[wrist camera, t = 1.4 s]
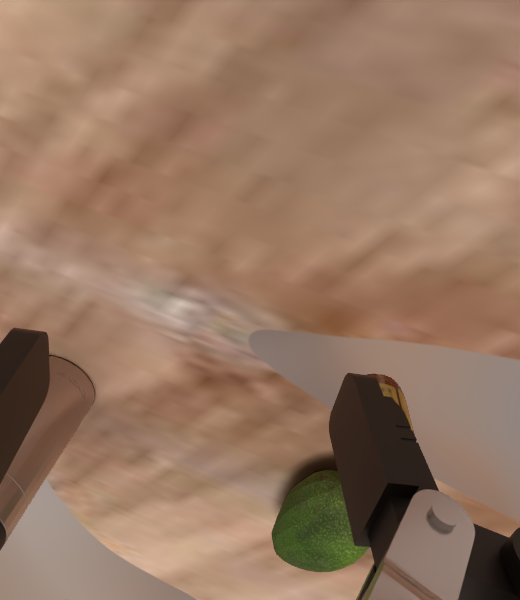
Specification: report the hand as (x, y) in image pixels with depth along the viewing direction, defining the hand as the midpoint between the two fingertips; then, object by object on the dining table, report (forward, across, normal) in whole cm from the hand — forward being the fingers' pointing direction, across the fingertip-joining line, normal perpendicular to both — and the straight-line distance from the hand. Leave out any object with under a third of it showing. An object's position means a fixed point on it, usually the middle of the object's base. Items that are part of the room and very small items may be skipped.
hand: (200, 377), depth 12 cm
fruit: (+27, +18, -38) cm, 50 cm away
